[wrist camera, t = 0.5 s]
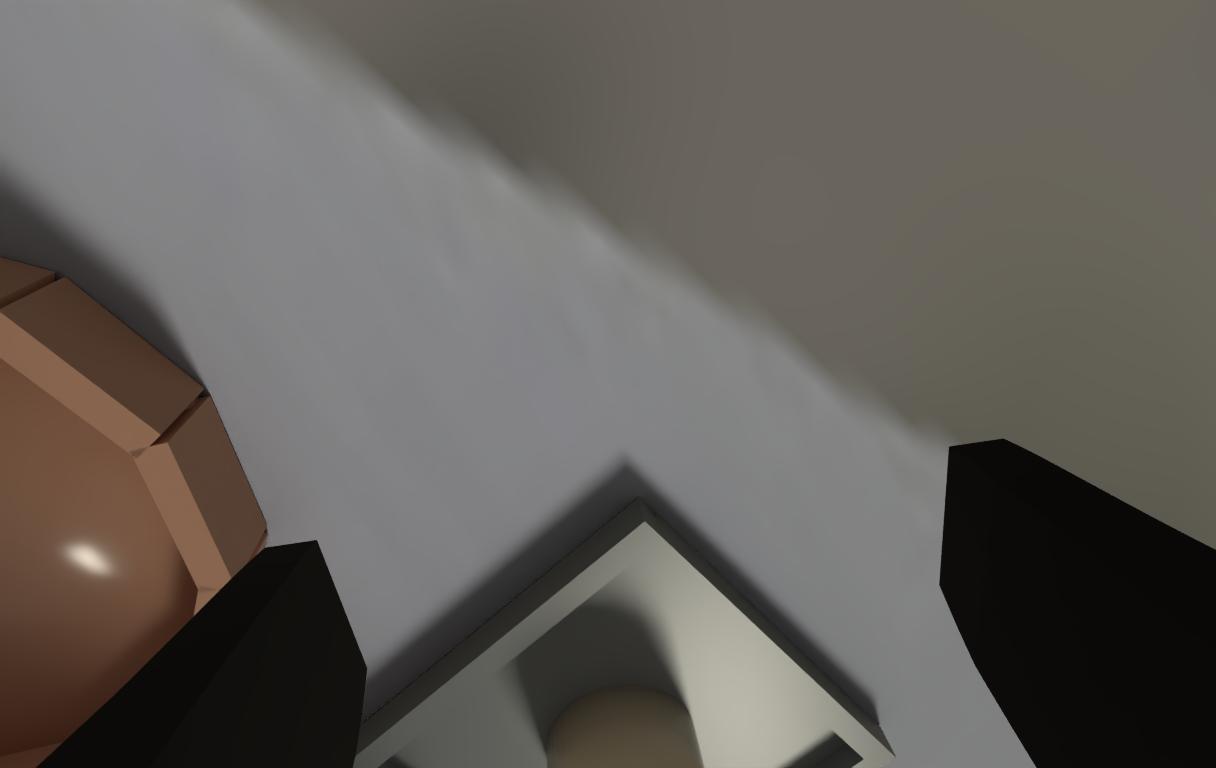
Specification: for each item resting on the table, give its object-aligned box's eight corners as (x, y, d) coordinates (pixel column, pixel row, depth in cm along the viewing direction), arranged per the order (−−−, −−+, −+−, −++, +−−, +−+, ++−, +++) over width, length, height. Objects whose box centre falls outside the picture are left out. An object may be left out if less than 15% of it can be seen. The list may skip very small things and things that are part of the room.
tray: (605, 919, 28) (608, 955, 26) (341, 741, 24) (332, 775, 23) (880, 727, 25) (896, 757, 24) (639, 497, 22) (644, 521, 20)
